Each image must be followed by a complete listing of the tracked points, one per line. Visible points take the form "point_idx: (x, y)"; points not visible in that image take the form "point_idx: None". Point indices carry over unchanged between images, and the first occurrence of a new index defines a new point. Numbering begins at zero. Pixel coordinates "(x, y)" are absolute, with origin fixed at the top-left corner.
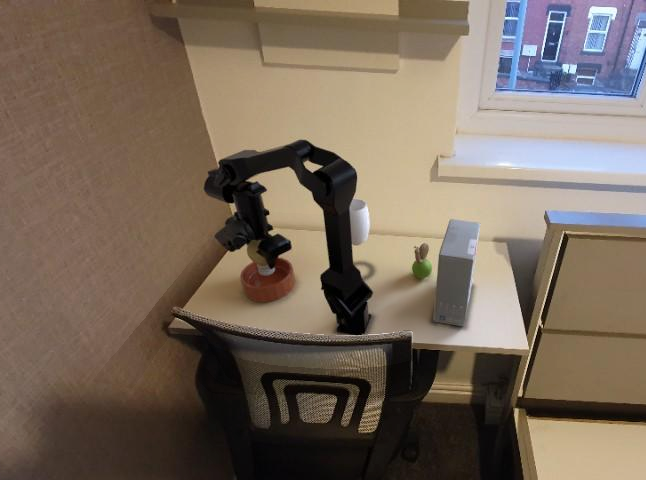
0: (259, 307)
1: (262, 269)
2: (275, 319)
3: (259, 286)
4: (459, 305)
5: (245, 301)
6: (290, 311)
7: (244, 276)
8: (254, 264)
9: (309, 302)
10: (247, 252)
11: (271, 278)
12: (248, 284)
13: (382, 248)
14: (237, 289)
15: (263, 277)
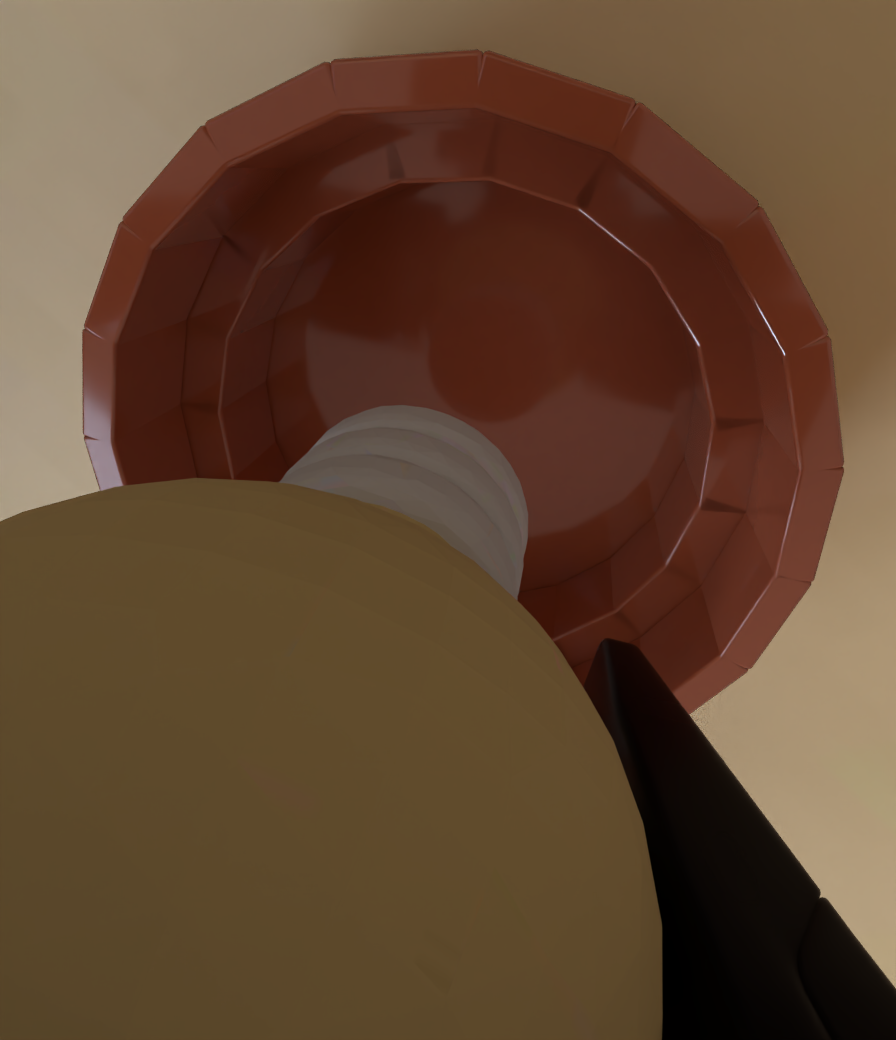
0: (303, 66)
1: (308, 464)
2: (7, 26)
3: (558, 338)
4: None
5: (539, 37)
6: (19, 225)
7: (736, 287)
8: (764, 562)
9: (18, 414)
10: (288, 697)
11: (540, 502)
12: (415, 102)
13: None
14: (825, 158)
15: (635, 478)
